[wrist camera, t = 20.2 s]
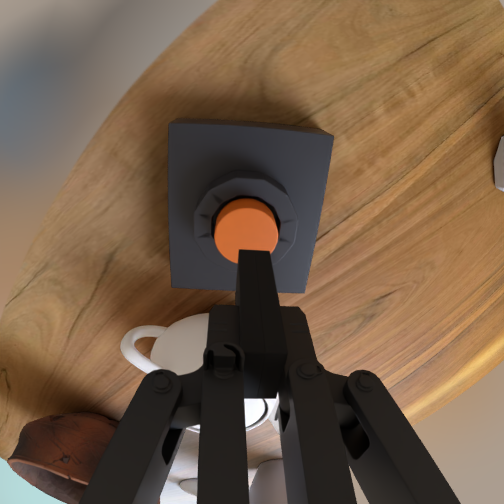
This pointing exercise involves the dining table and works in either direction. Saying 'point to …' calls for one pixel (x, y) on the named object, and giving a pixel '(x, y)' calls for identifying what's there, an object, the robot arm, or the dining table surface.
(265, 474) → the vase
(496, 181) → the flask
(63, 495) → the bowl
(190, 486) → the candlestick
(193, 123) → the button box
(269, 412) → the teapot
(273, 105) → the dining table surface
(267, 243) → the power button
